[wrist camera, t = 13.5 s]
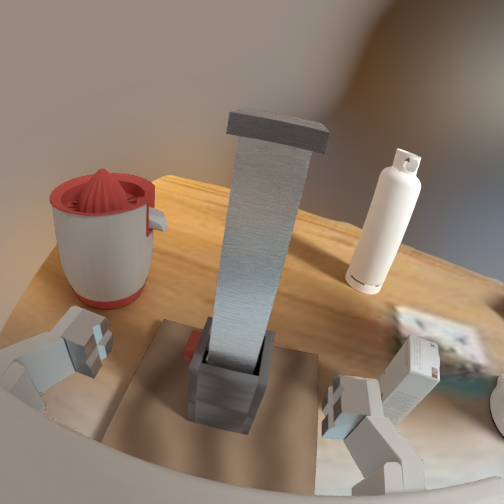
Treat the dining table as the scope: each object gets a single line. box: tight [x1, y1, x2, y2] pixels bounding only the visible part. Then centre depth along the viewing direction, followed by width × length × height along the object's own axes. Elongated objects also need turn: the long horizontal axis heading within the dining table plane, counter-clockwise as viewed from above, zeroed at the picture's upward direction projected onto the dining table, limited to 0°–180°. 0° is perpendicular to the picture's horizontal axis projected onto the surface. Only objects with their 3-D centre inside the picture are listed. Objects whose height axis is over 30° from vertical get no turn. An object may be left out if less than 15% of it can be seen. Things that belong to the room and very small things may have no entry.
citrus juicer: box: [50, 169, 167, 309], centre depth 42 cm, size 16×17×20 cm
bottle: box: [345, 149, 421, 294], centre depth 55 cm, size 8×8×28 cm
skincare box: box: [378, 335, 440, 425], centre depth 31 cm, size 6×4×12 cm
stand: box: [101, 317, 318, 495], centre depth 30 cm, size 22×22×12 cm
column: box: [206, 108, 329, 375], centre depth 23 cm, size 5×5×23 cm
